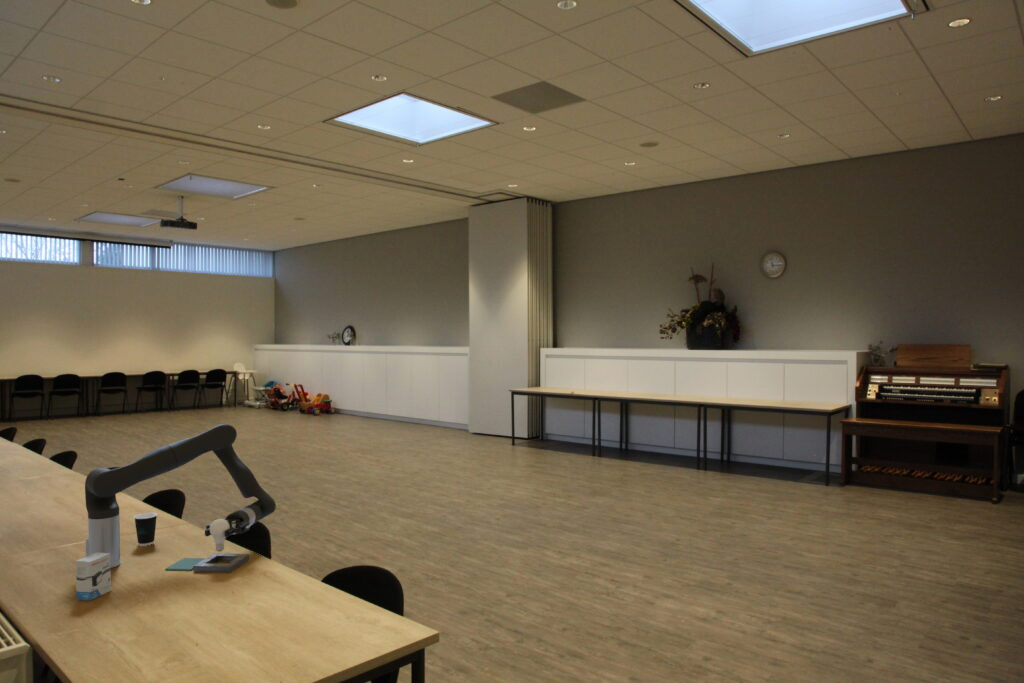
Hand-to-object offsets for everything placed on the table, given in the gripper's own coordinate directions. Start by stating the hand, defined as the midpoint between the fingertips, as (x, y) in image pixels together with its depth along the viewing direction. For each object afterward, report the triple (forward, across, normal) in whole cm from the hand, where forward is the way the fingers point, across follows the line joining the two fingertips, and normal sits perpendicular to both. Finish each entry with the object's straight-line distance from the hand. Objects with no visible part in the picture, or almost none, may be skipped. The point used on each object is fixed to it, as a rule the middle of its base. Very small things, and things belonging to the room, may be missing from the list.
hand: (216, 533), depth 231 cm
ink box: (+25, -25, +12) cm, 38 cm away
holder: (-3, +1, +12) cm, 12 cm away
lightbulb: (-2, 0, +7) cm, 7 cm away
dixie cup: (-24, -41, +12) cm, 49 cm away
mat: (-3, -12, +12) cm, 17 cm away
